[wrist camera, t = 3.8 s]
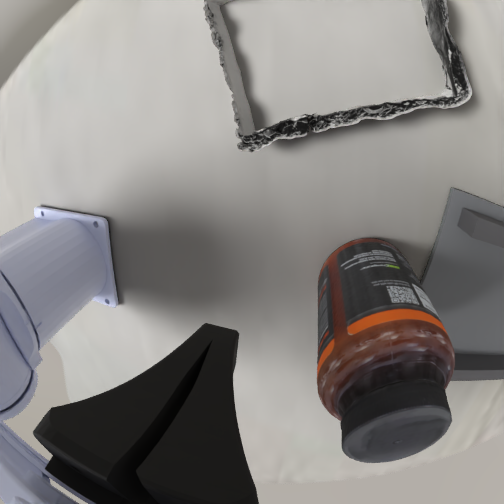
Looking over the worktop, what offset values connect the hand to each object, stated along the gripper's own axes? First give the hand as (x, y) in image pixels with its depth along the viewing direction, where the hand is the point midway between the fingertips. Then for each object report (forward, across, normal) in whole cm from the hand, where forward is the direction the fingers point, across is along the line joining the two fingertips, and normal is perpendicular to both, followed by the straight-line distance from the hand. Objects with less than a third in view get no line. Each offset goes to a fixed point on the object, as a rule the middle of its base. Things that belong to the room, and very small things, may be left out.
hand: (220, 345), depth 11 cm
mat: (+8, -19, 0) cm, 20 cm away
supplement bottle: (+8, -7, 0) cm, 11 cm away
